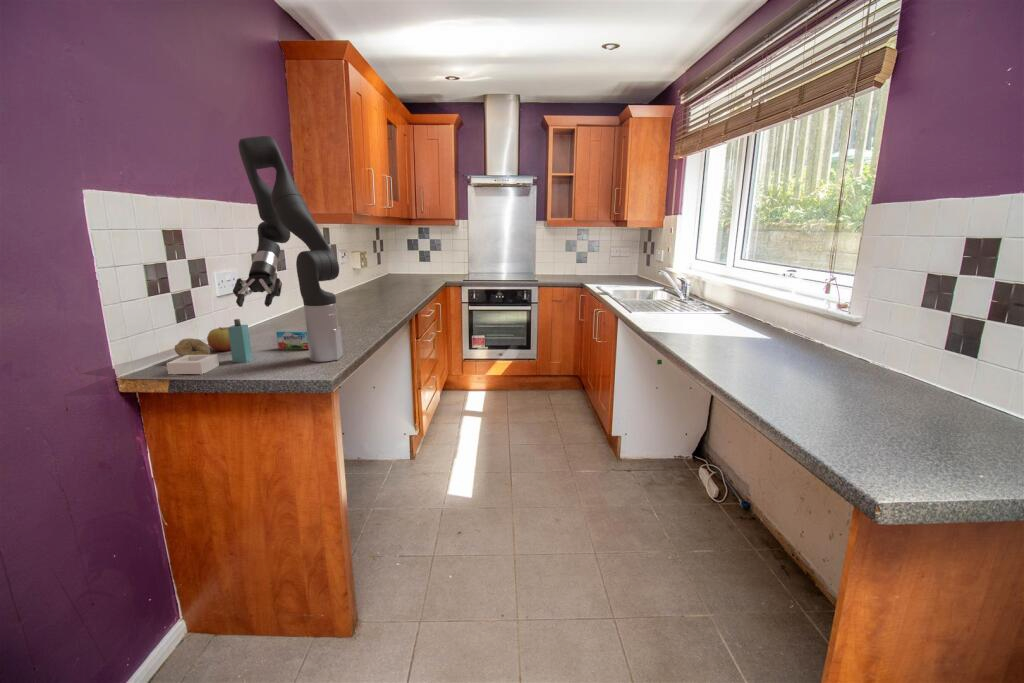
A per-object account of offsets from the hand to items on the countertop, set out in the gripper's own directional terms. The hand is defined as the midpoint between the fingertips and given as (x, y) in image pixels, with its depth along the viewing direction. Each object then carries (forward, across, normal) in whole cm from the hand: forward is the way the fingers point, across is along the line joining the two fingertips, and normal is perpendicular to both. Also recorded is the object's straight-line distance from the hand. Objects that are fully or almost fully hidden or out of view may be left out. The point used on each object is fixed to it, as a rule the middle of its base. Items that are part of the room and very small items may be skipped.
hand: (253, 305), depth 153 cm
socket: (+26, -9, -4) cm, 28 cm away
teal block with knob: (+19, 0, +3) cm, 19 cm away
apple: (+8, -13, +14) cm, 21 cm away
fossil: (+18, -16, +5) cm, 24 cm away
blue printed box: (+10, +11, +13) cm, 20 cm away
